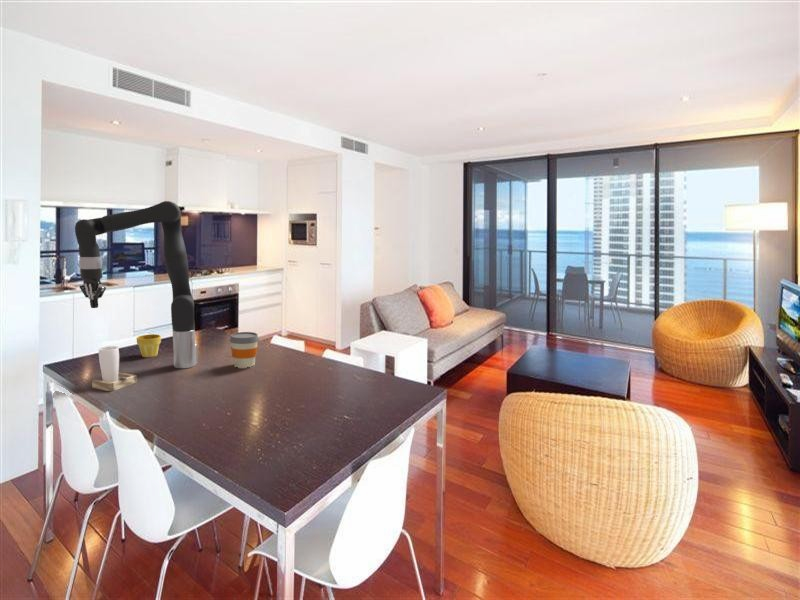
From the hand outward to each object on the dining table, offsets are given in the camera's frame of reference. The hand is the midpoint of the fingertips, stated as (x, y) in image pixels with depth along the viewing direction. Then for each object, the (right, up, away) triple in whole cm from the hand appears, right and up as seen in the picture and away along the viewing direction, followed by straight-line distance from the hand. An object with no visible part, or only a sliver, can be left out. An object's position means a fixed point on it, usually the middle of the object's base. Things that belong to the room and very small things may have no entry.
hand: (94, 307), depth 185 cm
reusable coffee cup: (+57, -28, +21) cm, 67 cm away
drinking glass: (+14, -31, -10) cm, 35 cm away
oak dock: (+16, -31, -11) cm, 36 cm away
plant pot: (+6, -25, +30) cm, 39 cm away
